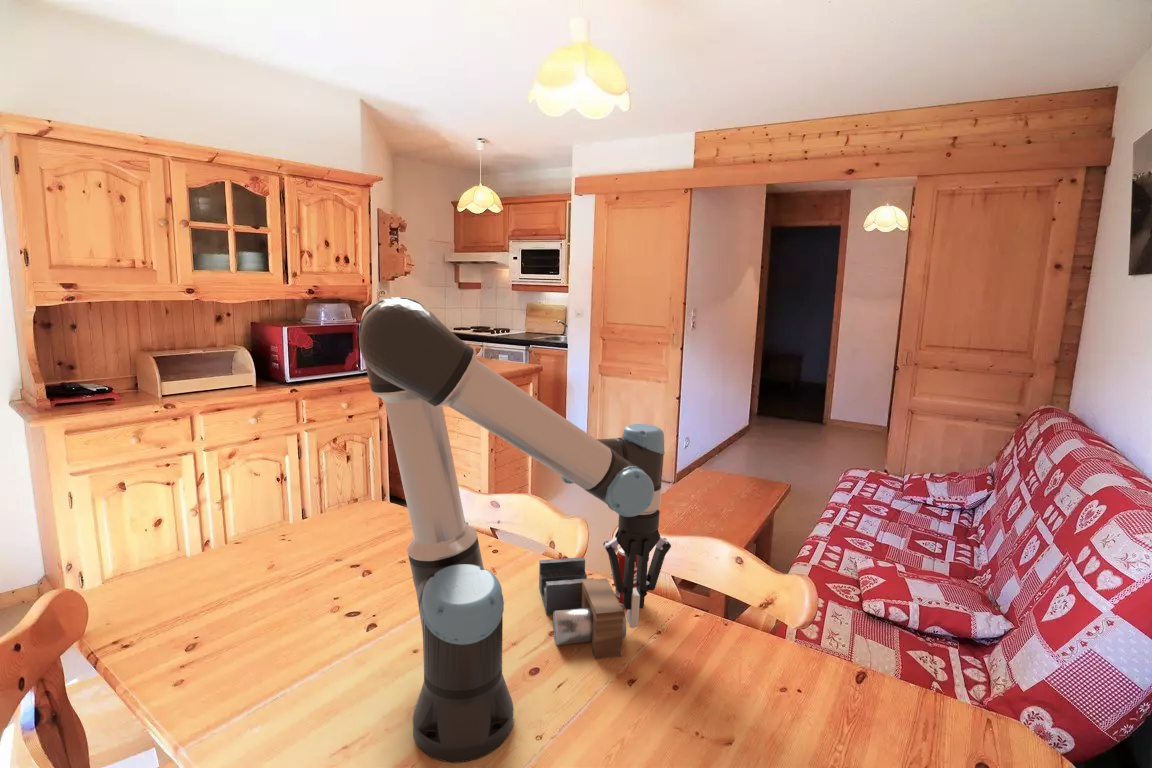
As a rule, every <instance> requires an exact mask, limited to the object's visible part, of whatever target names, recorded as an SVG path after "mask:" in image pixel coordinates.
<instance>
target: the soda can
mask: <svg viewBox="0 0 1152 768" xmlns="http://www.w3.org/2000/svg"><path fill="white" fill-rule="evenodd" d="M616 555H617V557H618V562H619V567H620V572H621V577H622V582H623V581H624V565H625V554H624V550H623V549H622V548H621V546H620V545H619V547H618V551H617V552H616ZM637 562H638V556H636V561H635V566H634V581H633V588H636V589H637V587H636V578H637ZM614 588H615V591H614V593H615V595H616V597H617V599H618V601H619V603H620V605H621V606H622V607H623V608H625V607H624V605H623V594H624V593H619V592H618V591H617V589H616V587H615V586H614Z"/></svg>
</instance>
